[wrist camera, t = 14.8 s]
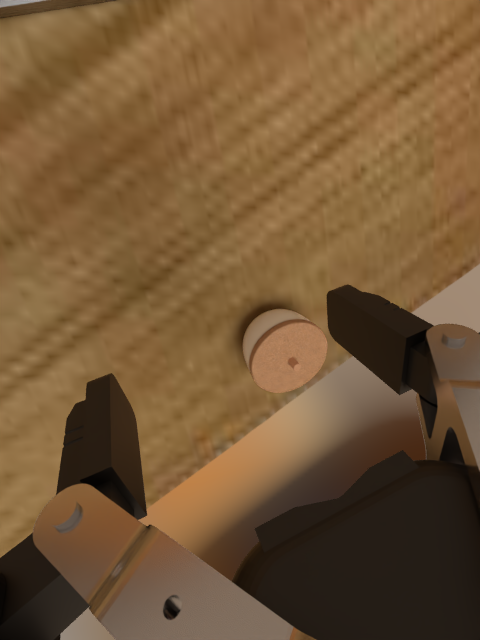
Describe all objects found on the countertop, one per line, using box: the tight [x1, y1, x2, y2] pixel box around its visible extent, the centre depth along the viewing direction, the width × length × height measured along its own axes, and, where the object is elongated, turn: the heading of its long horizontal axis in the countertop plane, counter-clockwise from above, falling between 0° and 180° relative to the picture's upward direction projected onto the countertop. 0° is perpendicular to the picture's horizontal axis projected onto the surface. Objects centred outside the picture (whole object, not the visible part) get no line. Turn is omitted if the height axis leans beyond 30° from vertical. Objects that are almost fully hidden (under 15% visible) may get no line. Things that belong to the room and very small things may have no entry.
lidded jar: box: [243, 309, 327, 393], centre depth 42 cm, size 11×11×9 cm
